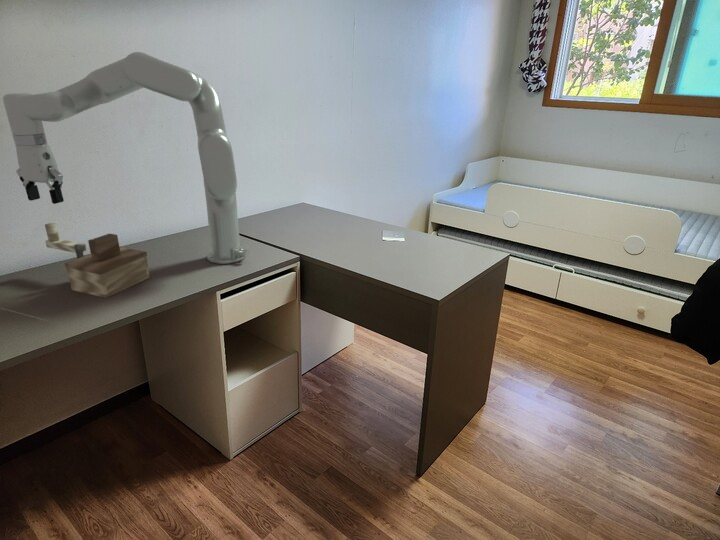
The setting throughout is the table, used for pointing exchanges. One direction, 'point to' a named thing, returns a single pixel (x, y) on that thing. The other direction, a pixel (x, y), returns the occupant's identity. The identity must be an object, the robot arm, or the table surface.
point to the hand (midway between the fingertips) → (46, 201)
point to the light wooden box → (107, 277)
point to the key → (59, 240)
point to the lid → (105, 256)
